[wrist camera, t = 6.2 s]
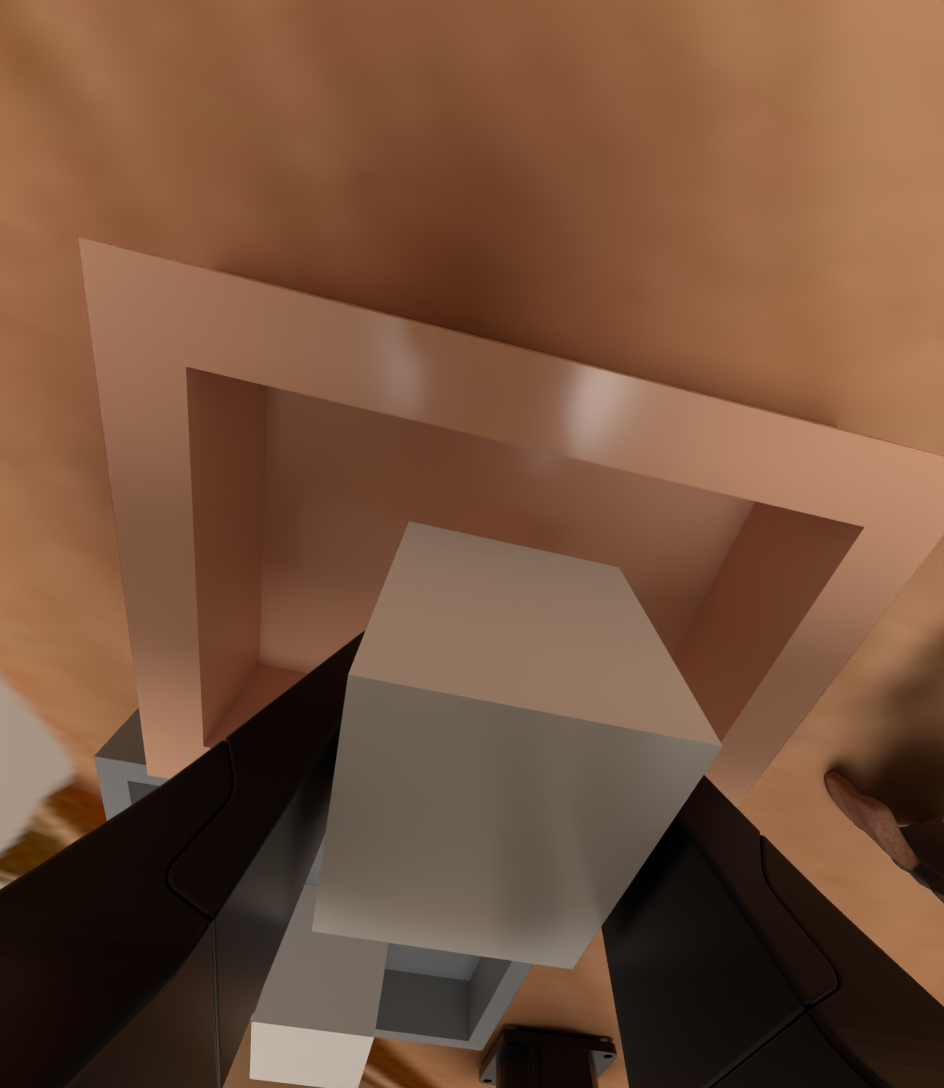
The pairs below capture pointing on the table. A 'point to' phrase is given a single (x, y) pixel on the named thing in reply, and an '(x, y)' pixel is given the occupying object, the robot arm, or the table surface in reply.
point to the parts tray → (410, 972)
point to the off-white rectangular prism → (317, 1005)
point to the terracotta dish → (463, 500)
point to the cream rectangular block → (502, 753)
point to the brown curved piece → (895, 834)
